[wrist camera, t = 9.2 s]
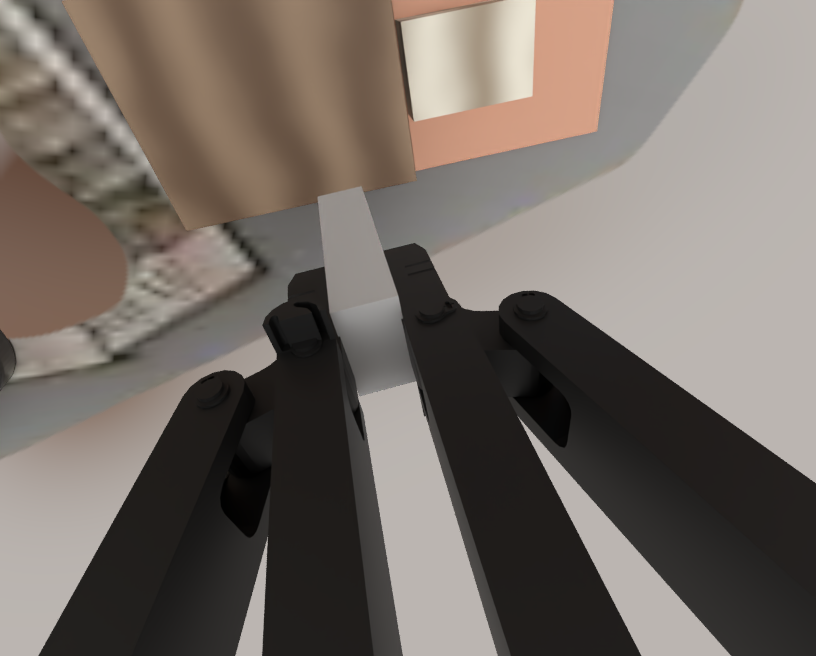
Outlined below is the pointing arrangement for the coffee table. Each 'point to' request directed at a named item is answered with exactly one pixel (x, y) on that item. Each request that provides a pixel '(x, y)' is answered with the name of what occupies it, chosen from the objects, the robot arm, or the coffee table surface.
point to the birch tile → (467, 56)
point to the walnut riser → (255, 98)
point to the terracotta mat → (552, 86)
